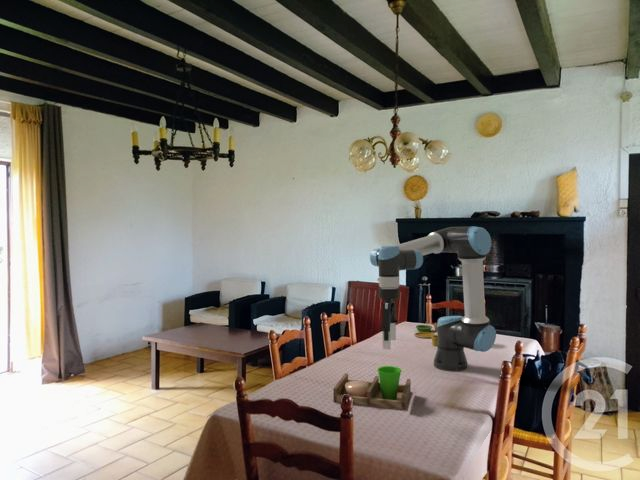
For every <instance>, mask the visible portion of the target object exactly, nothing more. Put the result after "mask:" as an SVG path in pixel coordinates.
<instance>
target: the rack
mask: <svg viewBox="0 0 640 480" xmlns="http://www.w3.org/2000/svg"><path fill="white" fill-rule="evenodd" d="M350 381H357V380H356V379H355V380H353V379H349V373H344V374H343V375H342V377H341V378H340V380H338V382H337V383H336V385H334V387H333V389H332V390H333V403H336V404H337V403H338V404H342V403H341V399H342V397H343V395H344V394H345V384H346V383H347V382H350ZM362 381H363V382H366V383H368V384H369V389H368V391H367V397H358V396H351V397H352V399H353V404H352V405H355V406H357V405H358V406H366V407H376V408H386V409H397V410H402V411H404V410H406V408H407V405H408V402H409V400H410V399H409V398H410V394H411V378H407V379H406V381H405V384H400V383H399V386H398V392H397V398H396V400H388V399H383V398H382V392H381V386H380V379H379V375H376V376H374V379H373V380H372V381H366V380H365V381H364V380H362Z"/></svg>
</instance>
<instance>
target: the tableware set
mask: <svg viewBox="0 0 640 480" xmlns="http://www.w3.org/2000/svg"><path fill="white" fill-rule="evenodd" d="M437 326H438V322H435V323H433V326H432V325H427V324H418V325H415V328H416V330H417V331H418V332H414V333H413V335H414V336H415V337H416V338H419V339H431V342H432V346H433V347H437V348H438V339H437V334H436V333H437ZM433 327H434V328H433ZM432 329H434V331H435V333H434V332H433V333H432V332H430V331H431V330H432Z"/></svg>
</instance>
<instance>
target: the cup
mask: <svg viewBox="0 0 640 480" xmlns="http://www.w3.org/2000/svg"><path fill="white" fill-rule="evenodd" d="M376 370H377V372H378V376H379V383H380V386H381V392H382V398H383V399H388V400H396V398H397V392H398V386H399V384H400V378H401V372H402V369H401V367H398V366H392V365H383V366H382V365H381V366H379V367H377V369H376Z"/></svg>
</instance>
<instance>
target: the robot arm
mask: <svg viewBox="0 0 640 480" xmlns="http://www.w3.org/2000/svg"><path fill="white" fill-rule="evenodd" d="M491 248H492V238H491V235H490V233H489V232H488V231H487V230H486V228H484V227H481V226H480V227H479V226H473V225H472V226H450V227H446V228H445V227H444V228H442V229H439V230H436V231H433V232H430V233H429V234H428V235H427V236H424V237H423V236H422V237H419V238H417V239H412V240H409V241H407V242H403V243H399V244H396V245H381V246H379V247H378V248H374V249H373V250H371V252H370V253H369V261H370V263H371V265H372V266H374V267H376V268H377V267H378V278H376V279H377V281H378V286H379V288H378V298H379V299H382V300H384V302H383V303H382V316H381V317H382V320H381V328H380V332H382V349H383V350H391V349H392V347H391V345H392V344H391V342H392V341H396V339H397V338H396V337H397V336H396V335H397V333H396V331H397V328H396V327H397V326H396V325H397V324H398V322H399V321H398V319H397V311H396V310H397V308H396V300H397V299H400V288H399V287H400V271H408V270H410V271H411V270H417V269H419V268H421V267H422V266H423V263H424V256H427V255H429V254H432V253H433V254H435V255H436V254H440V253H452V254H453V253H454V254H457V259H458V260H459V261H460V263H461V271H462V273H461V274H462V287H463V288H462V290H463V291H462V292H463V307H464V316H462V315H448V316H447V315H446V316H441V317H439V318H438V319H437V323H438V326H437V332H436V333H437V334H436V335H437V339H438V347H437V349H436V353H435V355H434V358H433V366H434V367H435V368H436V369H439V370H443V371H448V372H449V371H450V372H457V371H458V372H460V371H464V370H467V369H468V361H467V360H468V359H467V357H466V354H465V350H464V349H468V350H473V351H475V352H482V353H483V352H484V353H485V352H487V351H490V350H491V349H492V348H493V345H495V342H496V339H497V331H496V328H495V327H494V326H493V325H490V324H491V323H490V319H489V317H487V316H486V302H485V301H486V300H485V285H484V284H485V281H484V263H483V261H484V260H486V258H487V254H489V253H490V251H491Z"/></svg>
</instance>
